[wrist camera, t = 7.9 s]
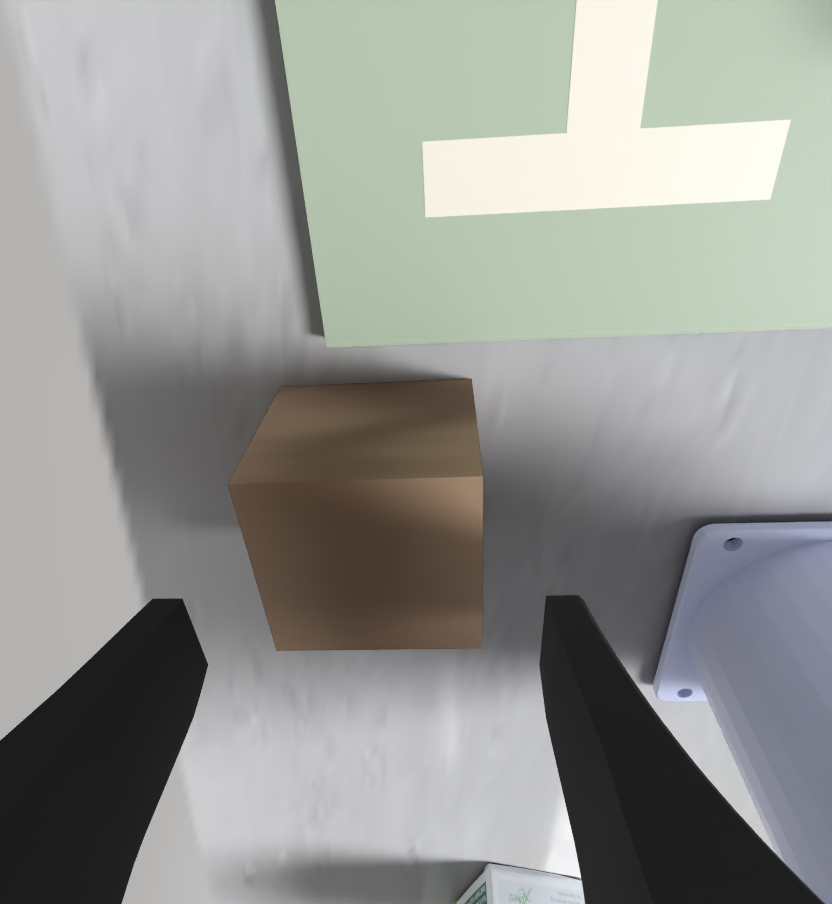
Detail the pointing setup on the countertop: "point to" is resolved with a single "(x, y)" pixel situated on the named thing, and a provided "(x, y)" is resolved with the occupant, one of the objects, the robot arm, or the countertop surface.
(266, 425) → the walnut block
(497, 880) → the syrup box
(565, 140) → the board
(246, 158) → the countertop surface
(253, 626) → the countertop surface
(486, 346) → the countertop surface
